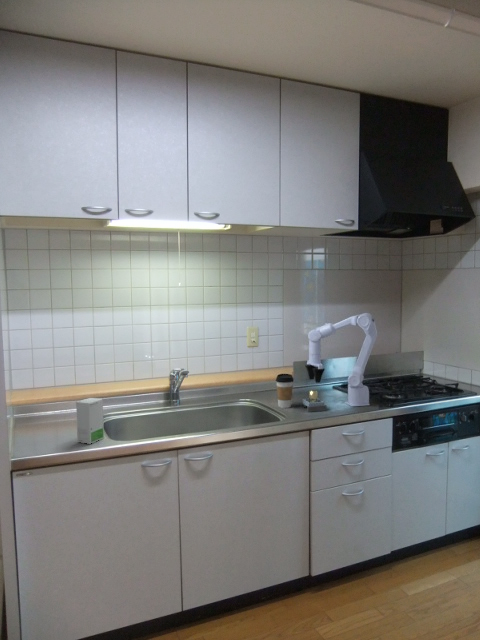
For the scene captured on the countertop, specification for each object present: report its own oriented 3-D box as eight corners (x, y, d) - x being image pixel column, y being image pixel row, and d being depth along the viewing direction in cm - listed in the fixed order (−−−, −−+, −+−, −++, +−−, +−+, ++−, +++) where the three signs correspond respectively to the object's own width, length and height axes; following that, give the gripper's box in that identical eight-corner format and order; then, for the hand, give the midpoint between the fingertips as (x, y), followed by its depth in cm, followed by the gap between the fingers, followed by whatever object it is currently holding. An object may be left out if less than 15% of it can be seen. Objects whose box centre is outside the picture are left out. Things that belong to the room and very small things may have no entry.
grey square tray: (317, 405, 229) (317, 398, 229) (323, 409, 222) (324, 401, 221) (302, 406, 227) (302, 399, 227) (308, 411, 220) (308, 403, 219)
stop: (325, 409, 222) (325, 404, 222) (326, 410, 221) (326, 405, 221) (307, 411, 220) (307, 406, 219) (308, 412, 219) (308, 406, 218)
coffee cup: (294, 404, 231) (294, 373, 230) (291, 409, 223) (291, 377, 222) (277, 403, 234) (277, 373, 232) (274, 408, 226) (274, 376, 224)
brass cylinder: (314, 401, 227) (314, 389, 227) (318, 403, 224) (319, 391, 223) (307, 402, 225) (307, 390, 225) (312, 404, 222) (312, 392, 222)
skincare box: (90, 445, 177) (88, 403, 176) (76, 442, 180) (74, 401, 179) (105, 438, 185) (103, 398, 184) (91, 435, 188) (90, 396, 186)
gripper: (301, 351, 243) (301, 378, 244) (313, 356, 229) (313, 384, 230) (314, 351, 244) (314, 377, 246) (326, 355, 230) (326, 383, 232)
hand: (314, 380), depth 238 cm, fingers open, 7 cm apart
